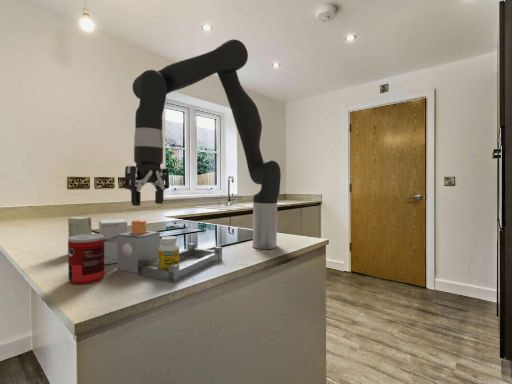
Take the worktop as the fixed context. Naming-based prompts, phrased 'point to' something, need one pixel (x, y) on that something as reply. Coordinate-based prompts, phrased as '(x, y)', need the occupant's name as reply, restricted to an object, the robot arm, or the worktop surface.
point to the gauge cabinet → (136, 249)
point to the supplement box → (111, 237)
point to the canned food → (86, 258)
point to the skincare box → (79, 226)
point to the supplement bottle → (168, 252)
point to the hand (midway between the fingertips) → (148, 204)
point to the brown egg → (138, 227)
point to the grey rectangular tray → (174, 270)
